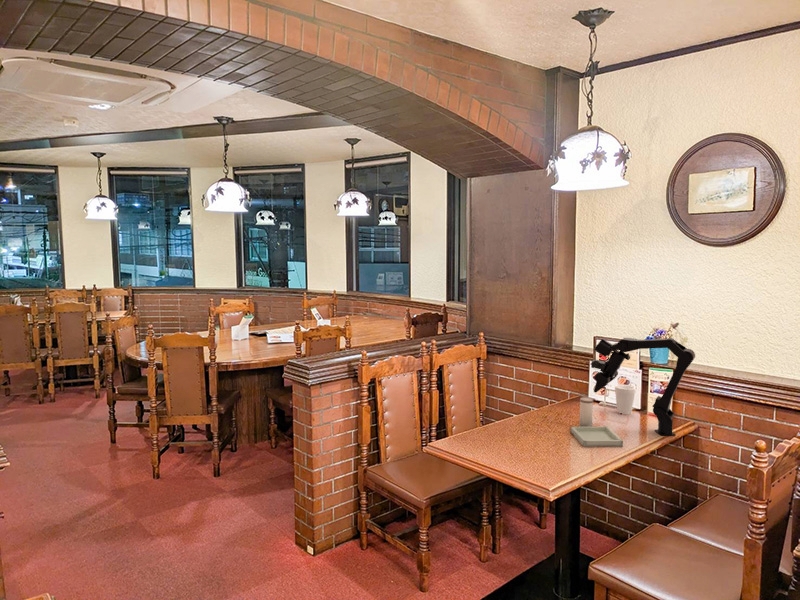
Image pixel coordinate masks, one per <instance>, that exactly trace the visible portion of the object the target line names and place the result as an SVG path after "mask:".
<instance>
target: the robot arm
mask: <svg viewBox="0 0 800 600" xmlns="http://www.w3.org/2000/svg"><path fill="white" fill-rule="evenodd" d="M643 349H645V350H646V349H648V350H649V349H668V350H669V351H670V352H671V353H672V354H673V355H674V356H675V357H677V360H676V365H675V369H674V371H673V373H672V375H671V377H670V379H669V381H668V384H667V386H666V388H665V389H664V392H663V393H662V396H660V395H658V396H657V397H656V398H655V400H654V404H653V405H652V412H653V415H654V416H655V417H656V419H657V421H658V422H657V423H658V424H657V425H658V426H657V429H654V431H655V432H656V434H658V435H660V436H676V433H675V432H674V431H673V425H674V423H673V422H674V420H673V418H674V416H675V413H674V411H673V410H672V409H670V408H671V404H672V400H673V396H674V394H675V393H676V390H677V388H678V387H679V385H680V382H681V380H682V378H683V376H684V374H685V372H686V370H687V369H688V368H689V367H690V365H691V364H692V362H693V361H694V360H695V358H696V353H695V352H694V350H692V349H691V348H687V347H686V346H684V345H683V344H681V343H680V342H679V341H677V340H675V339H674V338H672V337H668V338H654V339H653V338H650V339H637V338H634V337H633V338H632V337H624V338H621V339H620V340H619V341H618V342H616V343H613V344H612V343H611V342H609V341H607V340H606V339H605V338H601V339H600V341H599V342H598V343H597V344H596V345H595V347H594V349H593V350H594V351H595V352H596V353H598V354H600V355H601V356H603V357H604V358H606V357H608V359H607V361H603V360H599V359H593V360H592V361H591V362H590V365H591V366H590V368H592V369H598V370H599V371H598V372H597V373H595V375H594V377H593V378H594V380H595V381H596V383H595V385H594V389H593V393H597V392H599V391H601V390H602V389H603V388H604V387H606V386H607V385H608V384H609V383H610V382H612V381H613V380H615V379H616V378H617V377H618V375H619V371H618V370H619V369H620V368H621V365H622V364H623V362H624V360H627V361H629V360H630V359H631V356H630V352H632V351H636V350H643ZM627 352H629V353H627Z"/></svg>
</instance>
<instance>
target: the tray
mask: <svg viewBox="0 0 800 600" xmlns="http://www.w3.org/2000/svg"><path fill="white" fill-rule="evenodd" d="M570 433H571V434H572V435H573V437H575V438H576V440H577V441H578V442H579V444H580V445H582V447H583V448H612V447H613V448H618V447H619V448H623V446H624V445H623V444H624V440H622V439H621V437H619V436H618V435H617V434H616V433H615V432H614V431H612V430H611V429H610V428H609V427H608V426H592V427H579V426H570Z"/></svg>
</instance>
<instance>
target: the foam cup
mask: <svg viewBox="0 0 800 600" xmlns="http://www.w3.org/2000/svg"><path fill="white" fill-rule="evenodd" d="M636 391H637V389H636V386H634V385H630V384H616V385H615V386H614V392H615V402H616V410H617V411H618V412H619V413H618V412H617V411H616V412H617V413H618V414H620V413H622V414H621V415H625V414H628V415H631V414H632V411H633V405H634V400H635V394H636Z"/></svg>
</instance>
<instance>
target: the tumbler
mask: <svg viewBox="0 0 800 600" xmlns="http://www.w3.org/2000/svg"><path fill="white" fill-rule="evenodd" d="M593 413H594V398H592V397H587V396H586V397H585V396H584V397H583V396H582V397H580V398H579V425H578V427H593V416H594V415H593Z"/></svg>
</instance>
